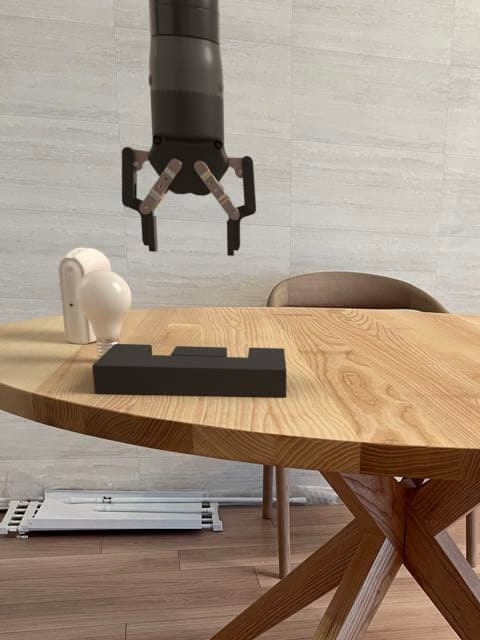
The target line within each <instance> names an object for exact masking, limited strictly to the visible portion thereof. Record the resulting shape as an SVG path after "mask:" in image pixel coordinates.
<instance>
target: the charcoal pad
mask: <svg viewBox="0 0 480 640" xmlns="http://www.w3.org/2000/svg"><path fill="white" fill-rule="evenodd" d="M91 367H92V368H91V369H92V378H93V392H94V394H96V395H98V394H100V395H101V394H102V395H143V396H144V395H150V396H152V395H153V396H196V397H197V396H202V397H203V396H204V397H205V396H206V397H253V398H254V397H256V398H260V397H261V398H287V362H286V354H285V348H281V347H280V348H278V347H248V353H247V357H244V356H243V357H239V356H227V357H209V356H171V354H170V355H169V354H168V355H167V354H153V346H152V344H138V343H136V344H135V343H119V344H114V345H113V346H112V347H111V348H110V349H109V350H108V351H107V352H106V353H105V354H104V355H103V356H102V357H101V358H100V357H99V358H98V359H97V360H96V361H95V362H94V363H93V364H92V366H91Z"/></svg>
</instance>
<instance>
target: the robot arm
mask: <svg viewBox="0 0 480 640" xmlns="http://www.w3.org/2000/svg"><path fill="white" fill-rule="evenodd" d="M219 1H220V0H148V15H149V37H150V43H149V55H148V56H149V58H148V71H149V72H148V73H149V74H148V86H149V94H150V95H149V96H150V117H151V138H152V139H151V140H152V142H151V147H150V149H149V151H148V150H143V149H142V150H141V149H134V148H132V147H131V146H125V147H123V148H122V149H121V203H122V205H123V206H124V207H126V208H129V209H131V210H134V211H136V212H137V213H138V214H139V215H140V224H141V241H142V243H143V246H146V247H148V252H152V253H156V252H158V246H159V245H158V229H157V227H158V226H157V225H158V223H157V215H155V210H156V208H157V207H158V206H159V204H160V203H161V202H162V200H163V199H164V198H165V197H166V196H167V194H168V192H169V191H170V192H171V193H173V194H174V195H189V194H191V195H195V196H199V197H206V196H208V195H210V194H212V195H213V198H214V199H215V200H216V201H217V203H218V204H219V205H220V207H221V208H222V209H223V211H224V212H225V214H226V215H227V216H228V219H227V220H226V252H227V253H226V254H227V257H229V256H230V257H234V256H235V251H236V252H238V251H240V249H241V221H242V220H243V219H244V218H246V217H247V218H248V217H249V216H253V215H254V214H256V212H257V201H256V183H255V167H254V160H253V158H252V157H251V156H249V155H245V156H243V157H228V155H227V153H226V149H225V148H226V147H225V110H224V109H225V108H224V107H225V105H224V104H225V103H224V89H225V85H224V68H223V61H222V54H221V16H220V14H221V13H220V2H219ZM147 162H149V164H150V165H151V167H152V168H153V170H154V171H155V173H156V174H157V175H158V179H157V180H156V181H155V182H154V184H153V185H152V186H151V188H150V189H149V192H148V193H147V195H146V196H145V198H144V199H141V198H138V172H140V171H142V170H143V169H144V167H145V164H146V163H147ZM229 168H232V169H233V170H234V173H235V176H236V177H237V178H239V179H242V187H243V188H242V189H243V203H244V204H243V205H239V206H236V204H235V203H234V202H233V200H232V199H231V197H230V195H229V194H228V192H227V190H225V188H224V187H223V185H222V184H221V182H220V181H221V180H222V178H223V177H224V176H225V174H226V173H227V172H228V171H229Z"/></svg>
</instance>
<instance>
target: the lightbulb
mask: <svg viewBox="0 0 480 640" xmlns="http://www.w3.org/2000/svg"><path fill="white" fill-rule="evenodd" d="M76 297H77V302H78V305H79V307H80V309H81V310H82V312H83V313H84V315H85V316H86V317H87V319H88V320H89V322H90V323H91V326H92V330H93V333H94V335H95V336H96V341H95V342H96V345H97V346H96V348H97V350H96V352H97V357H98V358H99V359H100V358H101V357H102V356H103V355H104V354H105V353H106V352H107V351H108V350H109V349H110V348H111V347H112V346H113V345H114V344H120V336H121V333H122V327H123V323H124V320H125V318H126V317H127V315H128V314H129V312H130V310H131V307H132V303H133V302H132V301H133V298H132V292H131V288H130V286H129V285H128V283H127V282H126V280H125V279H124V278H123V277H122V276H121V275H120V274H118V273H116V272H114V271H112V270H111V271H109V270H103V269H99V270H94V271H91V272H89V273H87V274H86V275H84V276H83V277H82V279H81V280H80V282H79V283H78V286H77V290H76Z"/></svg>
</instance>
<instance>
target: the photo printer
mask: <svg viewBox="0 0 480 640" xmlns="http://www.w3.org/2000/svg"><path fill="white" fill-rule="evenodd" d="M99 269H103V270H109V271H112V267H111V263H110V260H109V258H108V257H107V256H106V255H105V254H104V253H103V252H101V251H100V250H98V249H96V248H92V247H84V246H83V247H76V248H73V249H72V250H69V252H66V254H65V255H63V257H62V258H61V260H60V262H59V263H58V278H59V279H58V280H59V289H60V290H59V291H60V298H61V299H60V300H61V308H62V309H61V310H62V318H63V329H64V338H65V340H66V341H67V342H69V343H70V344H76V345H88V344H90V343H93V342H97V341H96V336H95V335H94V333H93V330H92V326H91V323H90V322H89V320H88V319H87V317H86V316H85V315H84V313H83V312H82V310H81V309H80V307H79V305H78V302H77V297H76V290H77V286H78V283H79V282H80V280H81V279H82V277H83V276H84V275H86V274H87V273H89V272H91V271H94V270H99Z"/></svg>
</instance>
